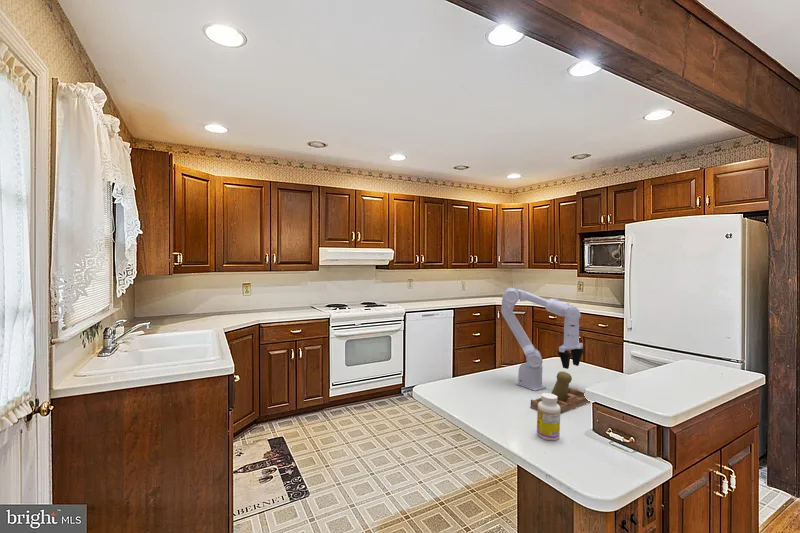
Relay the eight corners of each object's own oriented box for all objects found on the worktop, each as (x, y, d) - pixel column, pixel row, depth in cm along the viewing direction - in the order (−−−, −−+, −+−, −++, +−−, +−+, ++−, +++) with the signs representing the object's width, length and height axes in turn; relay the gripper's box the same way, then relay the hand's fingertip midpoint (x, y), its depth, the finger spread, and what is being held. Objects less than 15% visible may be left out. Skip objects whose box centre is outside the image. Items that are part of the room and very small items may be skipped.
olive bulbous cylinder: (568, 405, 137) (576, 378, 135) (552, 401, 138) (559, 375, 135) (564, 396, 143) (571, 371, 141) (548, 393, 144) (555, 367, 141)
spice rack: (530, 407, 136) (530, 395, 136) (568, 394, 150) (569, 383, 150) (552, 416, 129) (552, 404, 129) (590, 402, 143) (591, 390, 143)
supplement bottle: (538, 429, 119) (540, 390, 119) (560, 434, 116) (562, 394, 116) (534, 437, 113) (536, 396, 113) (557, 443, 110) (559, 401, 110)
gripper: (570, 338, 146) (570, 372, 147) (590, 334, 155) (589, 366, 155) (554, 335, 152) (554, 367, 153) (574, 331, 160) (573, 362, 161)
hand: (570, 366), depth 154 cm, fingers open, 7 cm apart
